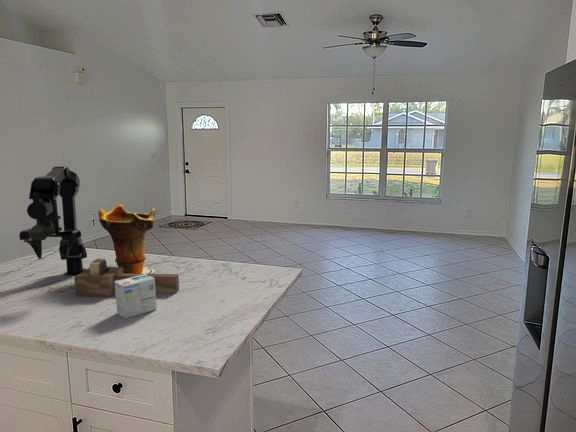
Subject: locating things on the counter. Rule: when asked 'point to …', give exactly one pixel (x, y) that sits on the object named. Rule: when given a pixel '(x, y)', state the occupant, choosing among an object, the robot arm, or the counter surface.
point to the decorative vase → (128, 237)
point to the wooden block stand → (105, 283)
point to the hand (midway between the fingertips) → (53, 258)
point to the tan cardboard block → (98, 267)
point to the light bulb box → (135, 295)
